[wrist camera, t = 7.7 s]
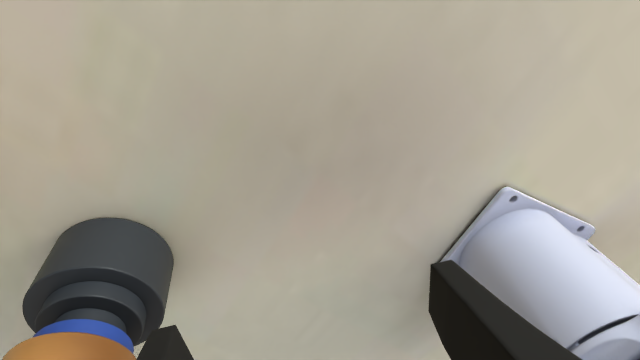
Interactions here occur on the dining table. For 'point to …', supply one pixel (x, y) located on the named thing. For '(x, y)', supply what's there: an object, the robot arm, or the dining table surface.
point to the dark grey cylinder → (102, 282)
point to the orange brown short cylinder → (69, 348)
